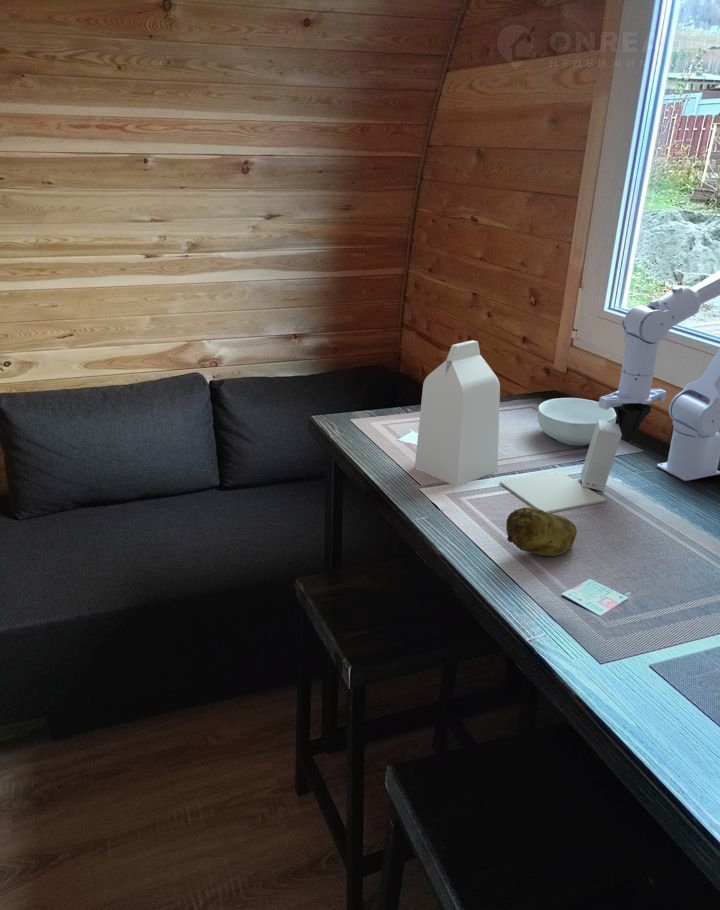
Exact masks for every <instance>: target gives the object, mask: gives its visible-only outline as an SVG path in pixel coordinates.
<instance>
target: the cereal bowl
mask: <svg viewBox="0 0 720 910" xmlns="http://www.w3.org/2000/svg"><path fill="white" fill-rule="evenodd" d="M598 420H602V421H606V422H611V423H615V424H616V421H617V415H616V413H615V410H614V408H613V407H610V408H609V409H607V410H605V409H603V408H601V407H599V401H595V400H592V399H591V400H590V399H585V398H577V397H560V398H551V399H547V400H545V401H543V402H541V403H539V405H538V408H537V421H538V425H539V427H540V428H541V430H542V431H543V432H544V433H545V434H546V435H547V436H549V437H551V438H553V439H555V440H557V441H558V442H560V443H562V444H566V445H570V446H586V445H590V443H591V440H592V437H593V433H594V430H595V427H596V424H597V421H598Z"/></svg>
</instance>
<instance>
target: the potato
mask: <svg viewBox="0 0 720 910" xmlns="http://www.w3.org/2000/svg"><path fill="white" fill-rule="evenodd" d="M505 526H506V527H505V528H506V534H507V541H508V542H509V543H512V544H513V545H514V546H516V548H518V549H519V550H520V551H524V552H529V553H534V554H537V555H538V556H543V557H555V556H558V555H561V554H564V553H566V552H567V551H568V550H569V549H570V548H571V547H572V546H573V544H574V542H575V540H576V537H577V534H578V533H577V532H578V529H577V526H576V525H575V523H574V522H572V520H570V519H569V518H566V517H564V516H560V515H557V514H554V513H552V512H551V513H547V512H544V511H543V510H541V509H538V508H534V507H532V506H529V507H528V506H527V507H522V508H518V509H514V511H512V512H510V514H508V517H507V518H506V524H505Z"/></svg>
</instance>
